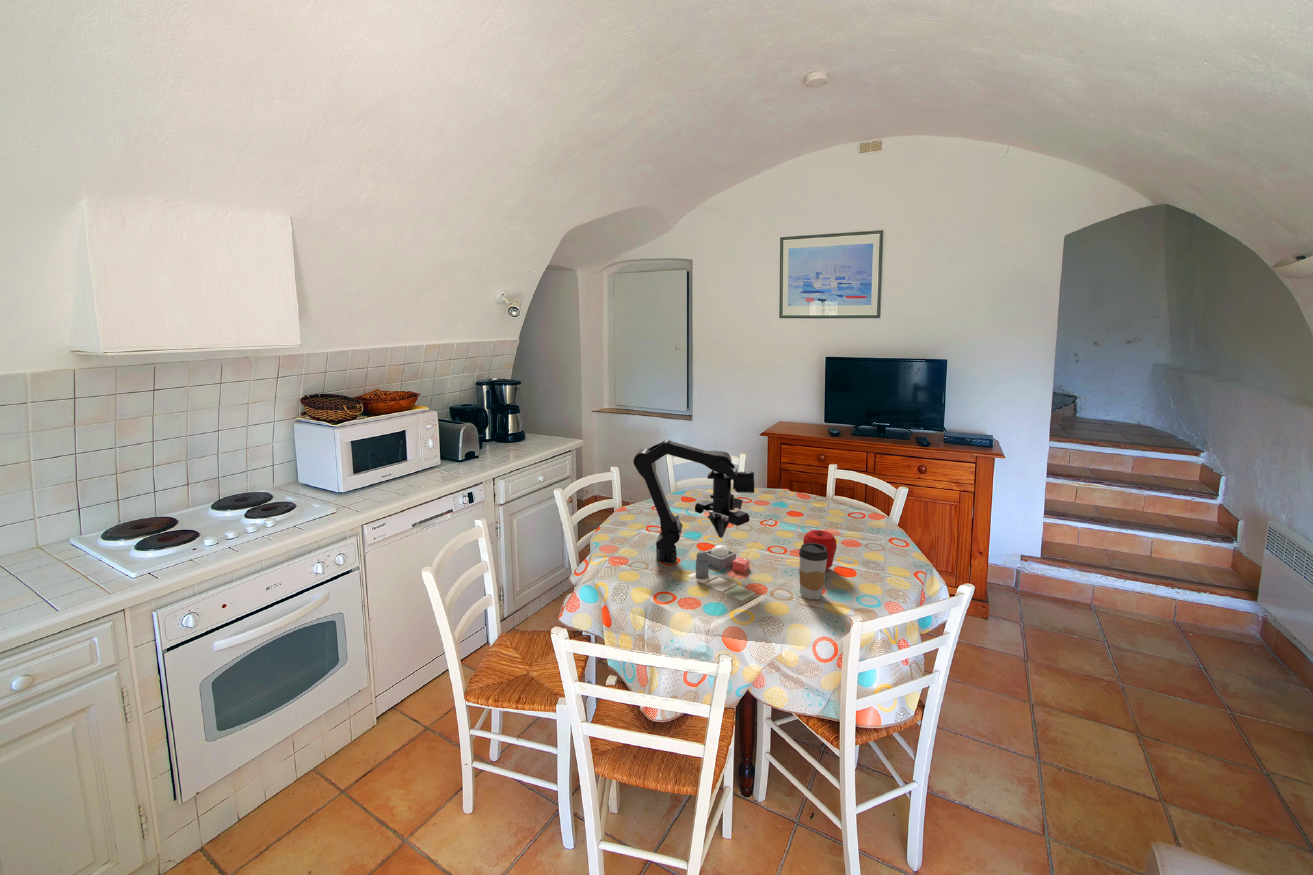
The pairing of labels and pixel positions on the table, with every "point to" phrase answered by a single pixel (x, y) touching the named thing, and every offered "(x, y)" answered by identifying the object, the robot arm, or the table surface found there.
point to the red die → (740, 564)
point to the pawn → (702, 565)
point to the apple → (823, 543)
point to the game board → (725, 587)
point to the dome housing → (721, 559)
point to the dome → (720, 551)
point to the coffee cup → (812, 569)
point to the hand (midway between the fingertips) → (720, 537)
